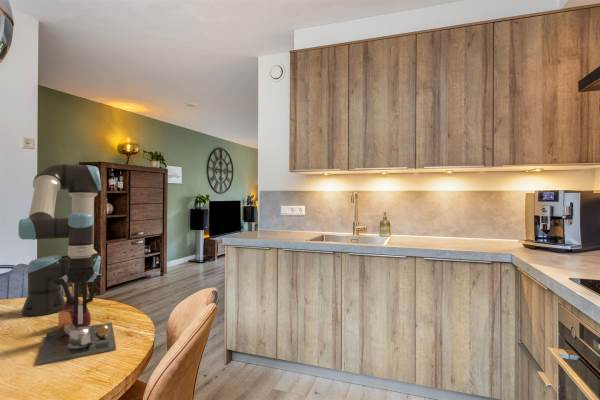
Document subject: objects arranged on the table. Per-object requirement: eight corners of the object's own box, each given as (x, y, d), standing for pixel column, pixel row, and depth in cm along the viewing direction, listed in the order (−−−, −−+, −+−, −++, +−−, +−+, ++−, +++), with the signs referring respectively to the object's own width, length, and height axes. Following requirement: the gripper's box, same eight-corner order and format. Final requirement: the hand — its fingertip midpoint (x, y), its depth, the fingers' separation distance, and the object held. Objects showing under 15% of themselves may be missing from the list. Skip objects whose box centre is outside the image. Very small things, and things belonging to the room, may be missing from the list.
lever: (95, 343, 108) (95, 321, 108) (76, 348, 104) (76, 326, 104) (71, 327, 121) (72, 307, 121) (54, 331, 117) (54, 311, 117)
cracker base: (47, 336, 120) (47, 315, 120) (111, 325, 131) (111, 306, 131) (38, 365, 99) (38, 339, 99) (115, 349, 109) (116, 326, 109)
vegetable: (75, 339, 125) (71, 304, 121) (52, 333, 127) (47, 298, 123) (97, 323, 135) (94, 289, 131) (76, 317, 137) (72, 284, 133)
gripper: (57, 259, 114) (57, 329, 114) (102, 256, 121) (101, 322, 121) (59, 256, 121) (59, 322, 121) (101, 253, 127) (101, 316, 127)
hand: (80, 322), depth 121 cm, fingers closed
